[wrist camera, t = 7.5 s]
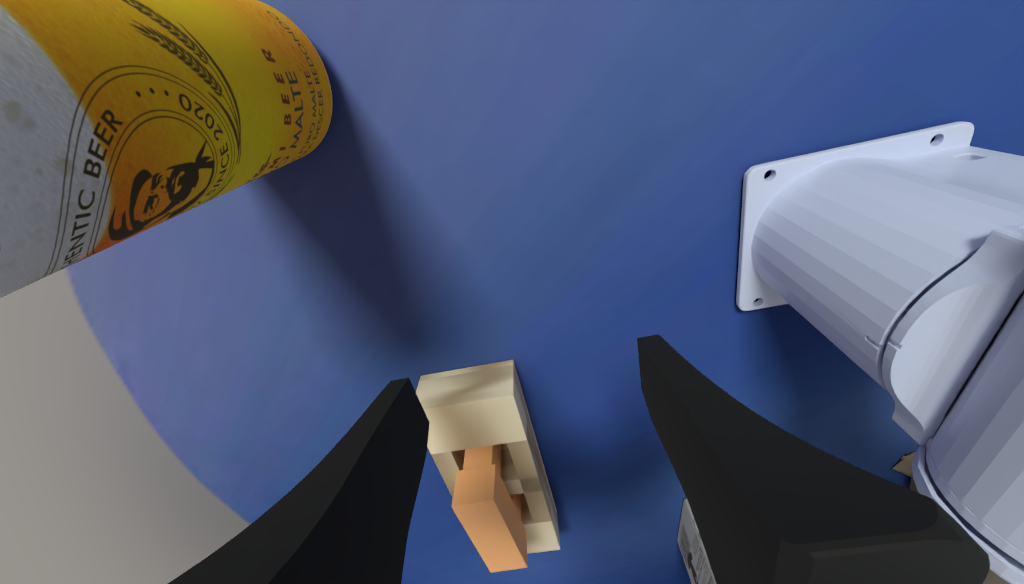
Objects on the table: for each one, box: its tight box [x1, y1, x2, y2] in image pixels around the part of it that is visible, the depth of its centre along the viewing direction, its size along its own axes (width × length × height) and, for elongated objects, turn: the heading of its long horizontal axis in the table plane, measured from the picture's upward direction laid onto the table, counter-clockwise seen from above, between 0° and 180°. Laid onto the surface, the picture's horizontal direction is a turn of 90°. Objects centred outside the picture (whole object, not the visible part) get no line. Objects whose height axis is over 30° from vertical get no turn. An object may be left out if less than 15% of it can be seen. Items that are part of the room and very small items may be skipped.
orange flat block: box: [452, 444, 527, 572], centre depth 26 cm, size 2×7×6 cm, turn 16°
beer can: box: [0, 0, 333, 298], centre depth 11 cm, size 6×6×15 cm
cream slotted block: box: [416, 360, 560, 553], centre depth 28 cm, size 6×16×3 cm, turn 13°
